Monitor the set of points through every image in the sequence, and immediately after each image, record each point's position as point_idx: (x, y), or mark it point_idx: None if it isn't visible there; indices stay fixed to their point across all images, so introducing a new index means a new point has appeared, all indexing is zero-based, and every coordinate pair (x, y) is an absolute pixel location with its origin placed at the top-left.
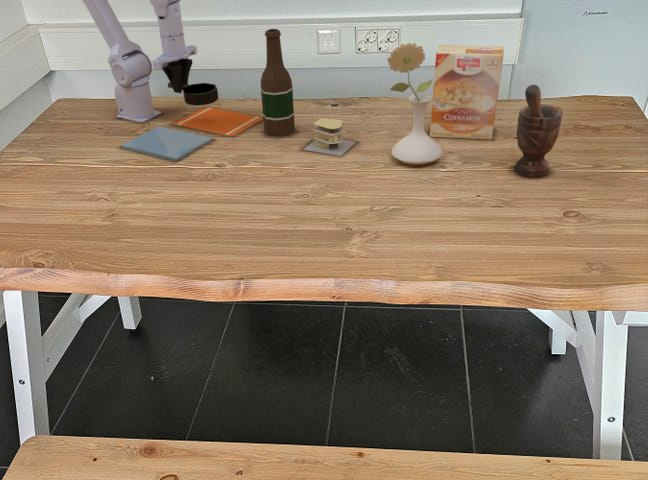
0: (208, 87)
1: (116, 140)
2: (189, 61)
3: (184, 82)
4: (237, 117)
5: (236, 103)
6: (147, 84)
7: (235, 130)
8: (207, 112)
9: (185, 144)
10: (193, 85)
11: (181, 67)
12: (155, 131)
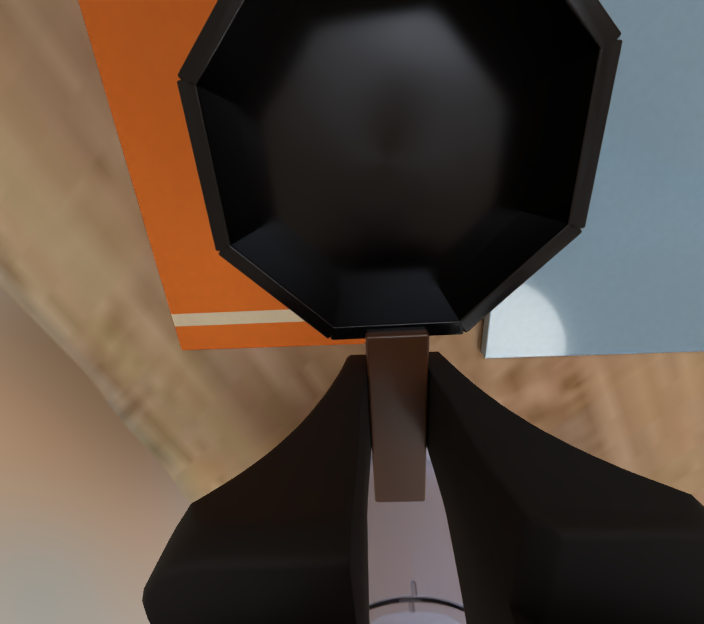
0: (234, 188)
1: (644, 412)
2: (267, 561)
3: (366, 396)
4: (167, 88)
5: (43, 261)
6: (391, 593)
7: None
8: (223, 295)
9: (689, 34)
10: (325, 315)
11: (551, 507)
12: (548, 328)
